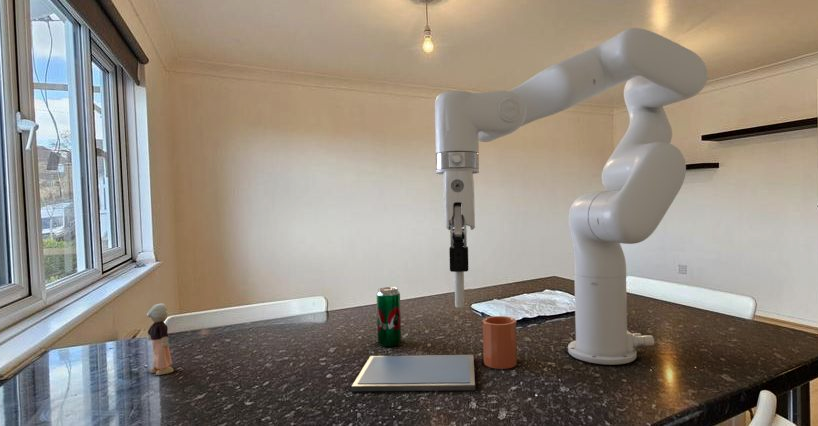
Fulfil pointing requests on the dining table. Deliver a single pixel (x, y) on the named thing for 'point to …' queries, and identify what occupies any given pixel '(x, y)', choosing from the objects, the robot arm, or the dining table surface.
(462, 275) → the stylus
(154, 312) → the grandmother figurine
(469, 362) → the tablet
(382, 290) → the soda can
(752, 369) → the dining table surface
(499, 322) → the pen cup
